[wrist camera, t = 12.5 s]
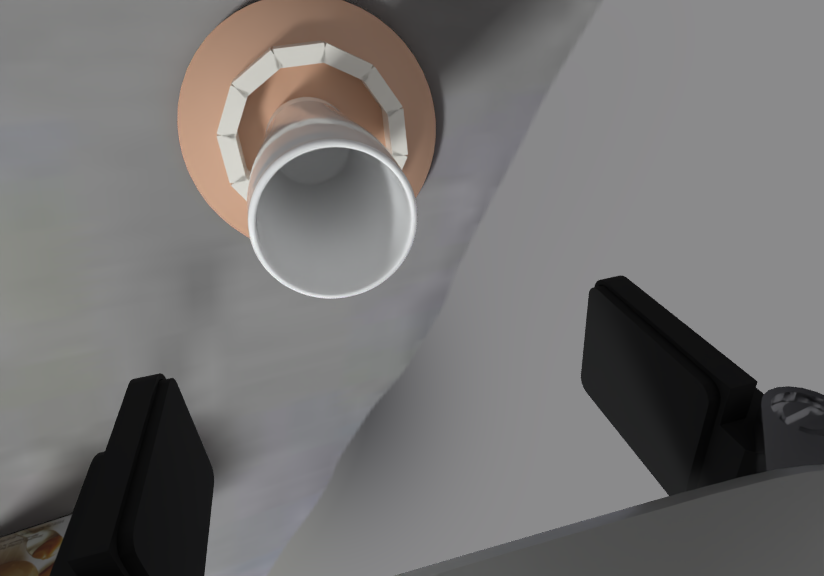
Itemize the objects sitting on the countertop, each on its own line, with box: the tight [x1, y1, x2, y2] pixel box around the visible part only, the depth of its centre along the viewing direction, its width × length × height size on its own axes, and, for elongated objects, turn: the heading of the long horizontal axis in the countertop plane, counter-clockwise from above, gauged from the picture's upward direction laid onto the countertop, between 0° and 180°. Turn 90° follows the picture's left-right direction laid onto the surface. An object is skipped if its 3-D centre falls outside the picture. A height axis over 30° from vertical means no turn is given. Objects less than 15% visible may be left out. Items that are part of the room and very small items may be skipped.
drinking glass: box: [247, 97, 418, 298], centre depth 27 cm, size 7×7×15 cm
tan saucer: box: [177, 0, 436, 238], centre depth 33 cm, size 16×16×3 cm
